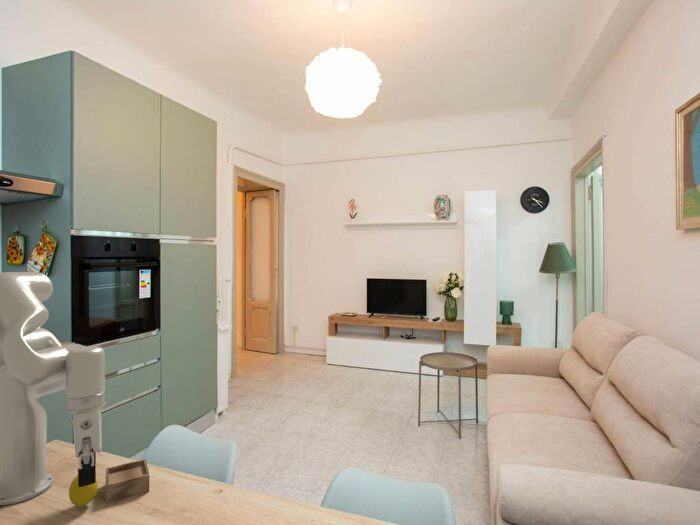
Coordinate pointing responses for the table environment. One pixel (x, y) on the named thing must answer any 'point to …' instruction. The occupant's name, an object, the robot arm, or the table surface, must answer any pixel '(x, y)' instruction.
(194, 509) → the table surface
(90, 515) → the table surface
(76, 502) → the lemon
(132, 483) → the walnut tray
